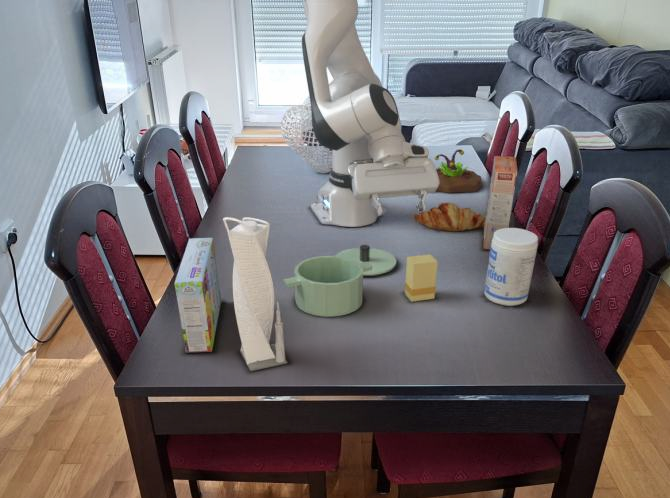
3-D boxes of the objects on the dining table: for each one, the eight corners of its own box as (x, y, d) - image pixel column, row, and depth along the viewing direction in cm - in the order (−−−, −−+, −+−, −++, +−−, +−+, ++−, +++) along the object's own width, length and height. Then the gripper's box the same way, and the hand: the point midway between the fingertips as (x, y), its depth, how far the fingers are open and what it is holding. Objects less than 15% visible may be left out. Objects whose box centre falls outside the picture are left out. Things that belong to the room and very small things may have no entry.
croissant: (486, 235, 185) (488, 207, 184) (492, 231, 175) (494, 201, 174) (411, 231, 186) (413, 203, 185) (413, 227, 176) (415, 197, 175)
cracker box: (506, 252, 166) (518, 171, 155) (482, 250, 167) (492, 169, 156) (505, 232, 178) (517, 156, 167) (483, 230, 179) (493, 154, 168)
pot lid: (321, 258, 162) (321, 241, 159) (376, 247, 168) (376, 230, 166) (351, 282, 150) (351, 264, 148) (408, 270, 156) (409, 252, 154)
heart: (280, 179, 217) (277, 110, 206) (285, 166, 231) (282, 100, 219) (364, 180, 217) (365, 111, 206) (363, 167, 231) (365, 101, 219)
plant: (486, 193, 206) (490, 158, 200) (424, 193, 206) (427, 157, 201) (476, 175, 223) (479, 142, 218) (419, 174, 224) (421, 141, 218)
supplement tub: (475, 296, 145) (483, 234, 137) (500, 284, 150) (509, 223, 143) (511, 311, 139) (522, 247, 131) (536, 298, 144) (547, 236, 137)
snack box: (196, 302, 141) (187, 237, 133) (222, 301, 141) (215, 236, 134) (183, 354, 123) (172, 282, 115) (213, 353, 123) (205, 281, 116)
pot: (274, 296, 144) (272, 265, 140) (353, 279, 152) (354, 249, 148) (300, 325, 133) (299, 292, 129) (385, 305, 141) (386, 273, 137)
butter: (404, 293, 145) (406, 256, 141) (427, 290, 147) (430, 253, 142) (411, 301, 142) (413, 264, 137) (434, 298, 144) (438, 261, 139)
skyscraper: (242, 372, 118) (230, 226, 103) (231, 351, 124) (217, 210, 109) (287, 363, 121) (280, 219, 106) (273, 342, 127) (265, 204, 112)
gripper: (349, 153, 144) (361, 210, 141) (434, 147, 149) (448, 202, 146) (343, 168, 150) (355, 222, 147) (425, 161, 155) (438, 214, 152)
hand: (402, 212), depth 147 cm, fingers open, 8 cm apart
